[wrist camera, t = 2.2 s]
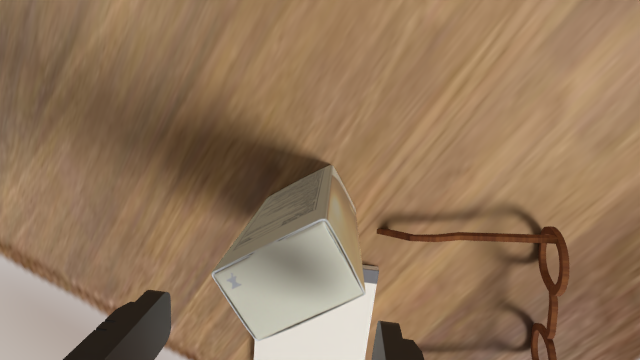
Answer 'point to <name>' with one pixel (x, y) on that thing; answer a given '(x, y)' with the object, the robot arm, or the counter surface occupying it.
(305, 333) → the board
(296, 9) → the counter surface
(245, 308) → the skincare box
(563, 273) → the glasses
